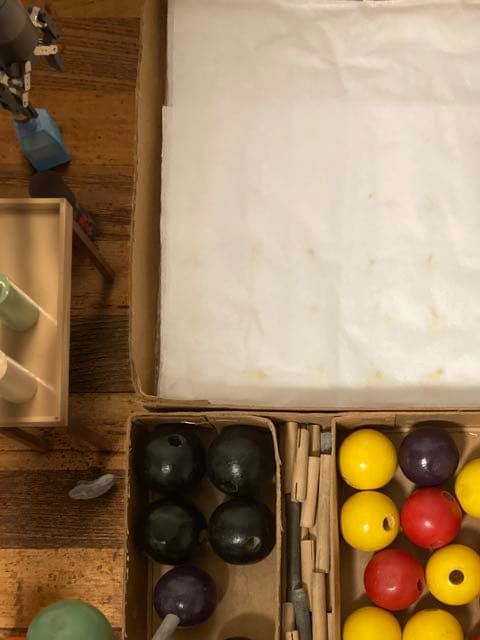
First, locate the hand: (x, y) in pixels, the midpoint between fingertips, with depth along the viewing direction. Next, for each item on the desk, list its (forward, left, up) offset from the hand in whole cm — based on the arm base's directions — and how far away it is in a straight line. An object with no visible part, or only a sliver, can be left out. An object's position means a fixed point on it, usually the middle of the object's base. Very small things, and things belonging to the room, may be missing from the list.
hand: (45, 91), depth 130 cm
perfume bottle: (-8, +3, -22) cm, 24 cm away
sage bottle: (-2, -36, +1) cm, 36 cm away
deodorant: (-2, -12, -22) cm, 25 cm away
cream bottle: (-2, -47, +1) cm, 47 cm away
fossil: (+2, -59, -22) cm, 63 cm away
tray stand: (-2, -36, -22) cm, 42 cm away
